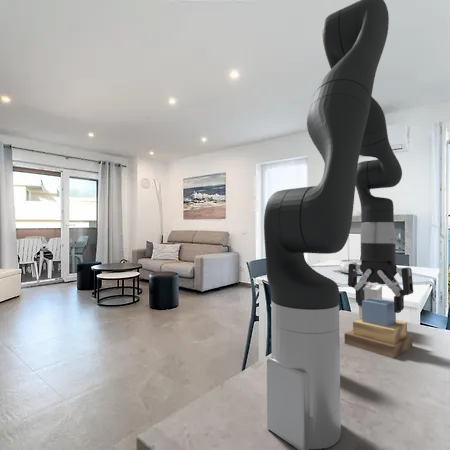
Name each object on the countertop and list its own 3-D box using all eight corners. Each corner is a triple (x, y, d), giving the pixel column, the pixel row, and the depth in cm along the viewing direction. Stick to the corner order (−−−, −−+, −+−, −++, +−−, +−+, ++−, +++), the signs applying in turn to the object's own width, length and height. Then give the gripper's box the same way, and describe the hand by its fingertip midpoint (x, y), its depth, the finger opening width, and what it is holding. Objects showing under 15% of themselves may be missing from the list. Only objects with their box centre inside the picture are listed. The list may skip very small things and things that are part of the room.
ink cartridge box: (378, 334, 78) (377, 278, 79) (358, 330, 81) (357, 276, 82) (383, 325, 85) (382, 274, 86) (364, 322, 88) (363, 273, 88)
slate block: (386, 327, 67) (386, 304, 67) (362, 321, 71) (362, 300, 71) (395, 322, 71) (395, 301, 71) (372, 317, 75) (371, 297, 75)
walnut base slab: (393, 361, 63) (392, 347, 63) (344, 346, 72) (344, 333, 72) (412, 348, 70) (412, 335, 70) (366, 335, 78) (366, 324, 79)
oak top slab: (393, 344, 65) (393, 330, 65) (353, 334, 71) (352, 321, 71) (407, 334, 71) (406, 322, 71) (368, 326, 77) (368, 314, 77)
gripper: (341, 241, 75) (342, 305, 74) (403, 242, 64) (405, 318, 63) (356, 240, 79) (357, 301, 79) (416, 241, 68) (418, 312, 68)
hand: (378, 308), depth 71 cm, fingers open, 8 cm apart
